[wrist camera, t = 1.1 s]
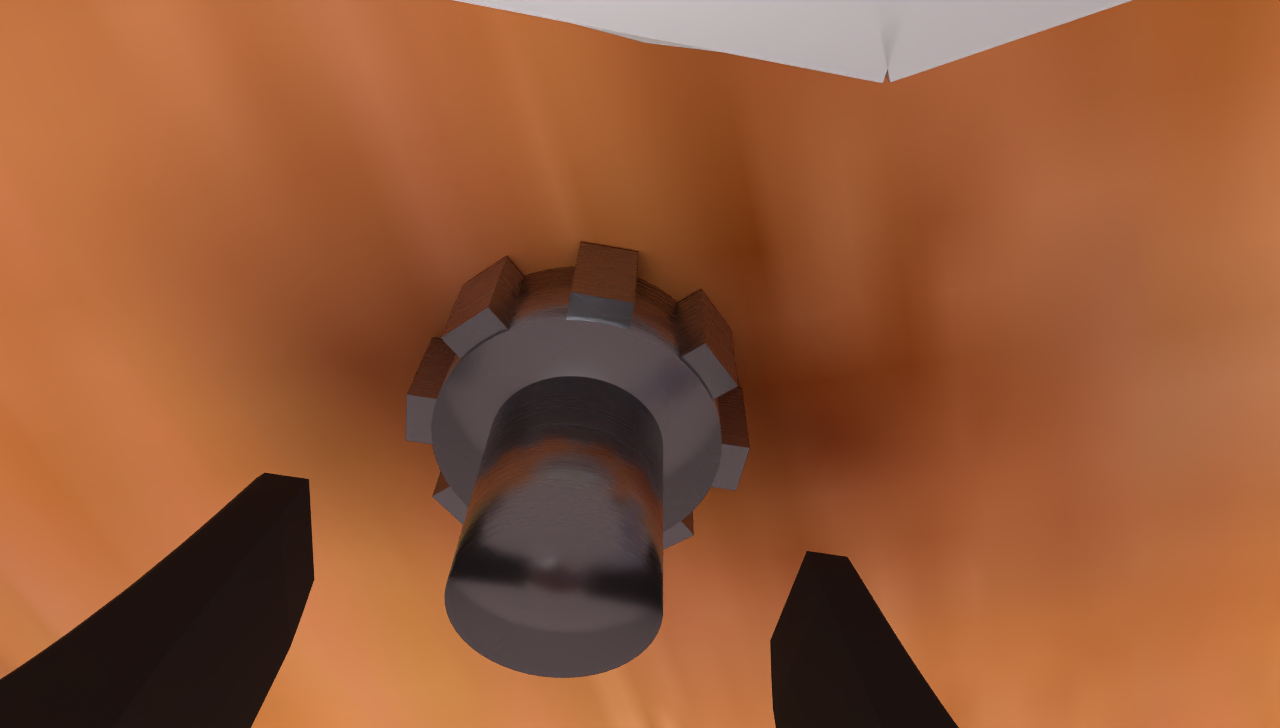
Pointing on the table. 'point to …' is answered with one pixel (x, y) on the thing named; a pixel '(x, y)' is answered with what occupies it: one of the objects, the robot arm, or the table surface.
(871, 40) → the carrier
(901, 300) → the table surface
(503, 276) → the planet gear
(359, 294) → the table surface
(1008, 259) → the table surface
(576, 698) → the table surface
